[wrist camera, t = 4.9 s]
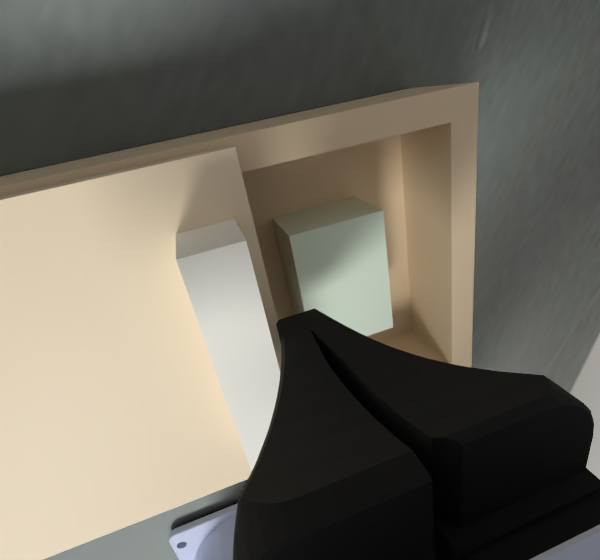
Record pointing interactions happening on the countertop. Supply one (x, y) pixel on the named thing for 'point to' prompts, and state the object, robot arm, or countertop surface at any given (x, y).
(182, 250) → the mailer lid
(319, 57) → the countertop surface
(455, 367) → the robot arm
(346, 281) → the soap bar
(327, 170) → the tray
